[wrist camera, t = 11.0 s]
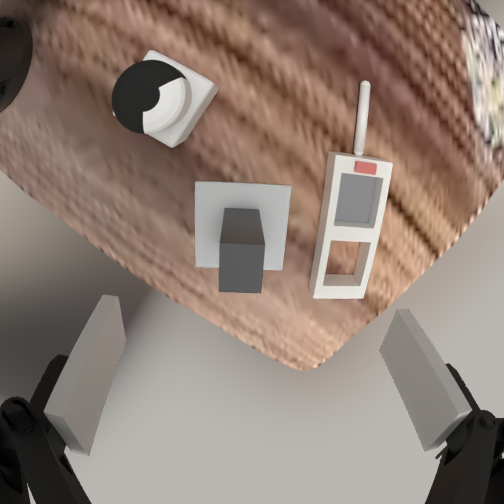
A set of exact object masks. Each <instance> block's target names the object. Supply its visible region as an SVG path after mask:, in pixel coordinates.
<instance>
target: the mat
mask: <svg viewBox="0 0 504 504" xmlns="http://www.w3.org/2000/svg"><path fill="white" fill-rule="evenodd" d="M290 195H291V185H278V184H261V183H242V182H216V181H195V257H196V267H208V268H219V243H220V236H221V229H222V222H223V215H224V209H225V208H243V209H259V212H260V218H261V223H262V229H263V234H264V240H265V255H264V267H263V270H282V266H283V258H284V249H285V241H286V232H287V223H288V214H289V205H290Z"/></svg>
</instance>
